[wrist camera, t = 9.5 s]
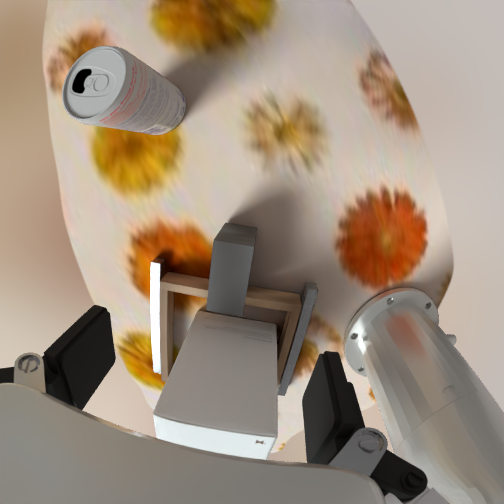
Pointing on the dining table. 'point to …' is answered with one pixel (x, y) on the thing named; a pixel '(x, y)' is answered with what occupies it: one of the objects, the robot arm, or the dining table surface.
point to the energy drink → (121, 93)
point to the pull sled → (226, 292)
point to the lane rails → (296, 343)
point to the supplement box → (223, 388)
